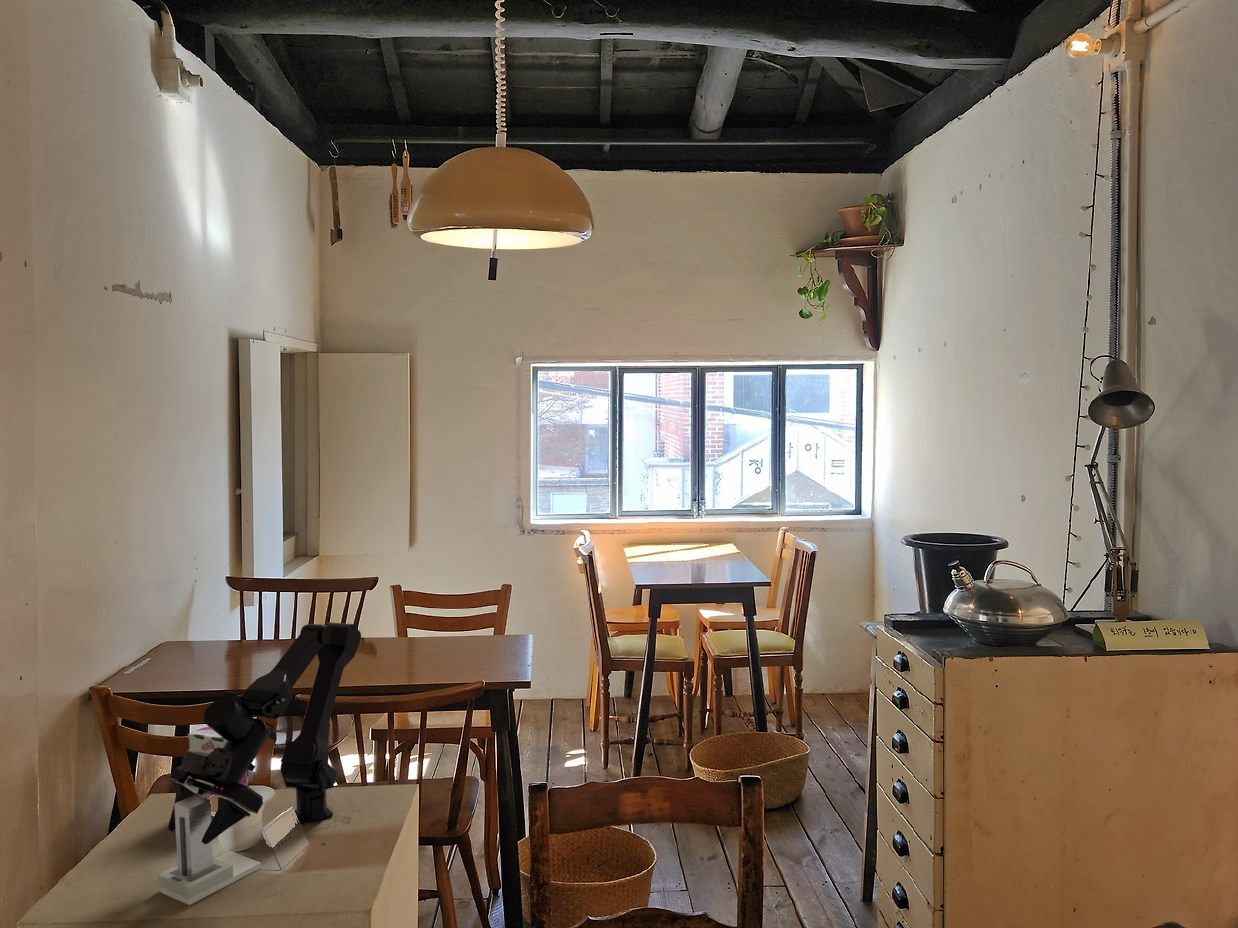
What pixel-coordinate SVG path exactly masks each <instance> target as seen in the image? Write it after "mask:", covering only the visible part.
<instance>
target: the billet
mask: <svg viewBox="0 0 1238 928" xmlns="http://www.w3.org/2000/svg"><path fill="white" fill-rule="evenodd" d="M174 803H175V802H174ZM174 803H173V806H174V805H175V825H176V829H175V842H176V843H175V844H176V861H177V862H176V863H177V864H176V866H177V867H178V877H179V878H181V879H183V880H186V881H188V882H193V881H195V880H197V879H199V878H201V877H203V876H205V875H207V874H209V873H211V872H213V871H214V870H213V858H214V854H213V851H214V850H213V840H212V841H211V842H209V843H208V844H204V843H202V842H201V841H202V838H203V836H204V834H205V832H206V830H207V828H208V827H209V825H210V823H211V821H212V816H211V804H210V800H209V799H206V798H203V797H200V796H198V795H195V796H192V797H190V798H187V799H185V800H182V801H180V802H177V803H175V804H174Z"/></svg>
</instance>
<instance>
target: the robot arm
mask: <svg viewBox="0 0 1238 928" xmlns="http://www.w3.org/2000/svg"><path fill="white" fill-rule="evenodd" d="M361 633H362V632H361V631H360V630H359V628H358V626H357V625H356V624H354V623H342V622H329V621H328V622H325V623H324V624H319V623H307V624H305V625H303V626H302V627H301V630H300V633H299V635H298V636H297V638H296V639H295V640H294V641H293V643H292V644H291V645H290V647H289V648H288V649H287V650H286V652H285V653H284V654H283V656H282V657H281V658H280V660H279V661H278V662H277V664H276V665H275V666H274V667H273V668H272V669H271V671H269V672H268V673H266V674H264V675H261V676H260V677H257V678H256V679H255V680H254V681H252V683H251V684H250V685H248V687H247V688H246V689H245V690H244V692H242V694H240V695H239V694H237V692H235V691H225V692H224V693H223V696H222V697H220V698H217V699H215V700H213V702H212V703H210V704H209V706H207V708H206V709H205V710H204V713H203V721H204V723H205V725H206V727H210V728H211V729H212V730H214V731H215V732H216V733H217V734H219V735H220V736H221V737H222V738H223V739H225V740H227V742H226V744H225V745H224V747H223V748H220V747H217V748H215V749H214V751H212V752H211V753H210V754H208V753H202V752H194V751H189V750H186V751H185V754H184V756H183V760H182V763H181V765H179V766H177V767H175V768H174V769H173V771H172V772H171V774H170V776H169V779H170V780H172V781H171V786H173V788H174V793H175V799H174V803H173V807H172V811H171V814H170V817H169V818H170V819H169V820H168V821H169V822H168V825H167V831H170V832H174V831H176V825H175V805H174V804H175V803H177V802H180V801H182V800H185V799H187V798H190V797H192V796H195V795H197V794H199V795H203V794H205V793H206V792H207V791H208V792H211V793H214V794H217V795H220V796H223V797H226V798H228V799H224V798H221V797H218V810H217V812H216V814H215V816H214V817H212V818H211V823H210V825H209V827H208V828H207V830H206V832H205V834H204V836H203V838H202V841H201V842H202V843H204V844H208V843H209V842H211V841H212V842H213V840H214V839H216V838H217V837H218V836H220V835H221V834H223V833H224V832H225V831H226V830H228V829H229V828H231V827H232V826H233V825H235V824H237V823H238V822H240V821H241V820H243V819H245V818H246V817H247V818H249V817H250V816H251V813H252V814H255V815H256V814H257V815H258V813H259V811H260V809H261V808H262V806H263V804H264V802H263V801H264V799H263V796H262V795H261V794H260V793H258V792H257V791H255V790H254V789H252V788H251V787H250V786H249V787H248V786H246V785H243V784H240V781H241V780H242V778H243V777H244V775H245V773H246V772H247V770H248V772H253V771H254V770H255V768H256V765H255V764H253V762H254V760H255V758H256V757H257V756H258V753H259V752H260V750H261V749H262V747H263V745H264V744H265V742H266V740H267V739H269V740H271V741H275V740H276V739H277V738H276V736H277V735H276V732H275V724H272V723H269V722H267V721H263V720H261V718H263V719H270V720H274V719H280V718H281V717H282V716H284V713H285V712H286V711H287V709H288V707H289V705H290V703H291V701H292V700H293V688H294V686H295V685H296V683H297V682H298V680H299V679H300V678H301V676H302V675H303V673H305V671H306V669H307V668H308V667H309V666H310V664H311V662H313V660H314V659H315V657H316V656H317V659H318V662H319V663H318V667H317V671H316V674H315V677H314V682H313V686H312V689H311V692H310V696H309V700H308V703H307V707H306V710H305V714H304V718H303V721H302V725H301V729H300V732H299V735H298V736H297V737H296V738H294V740H288V741H287V743H286V744H285V747H284V753H283V756H282V758H281V760H280V763H281V764H280V772H281V773H280V774H281V776H282V779H283V782H284V785H285V787H286V788H292V789H293V788H294V789H295V799H296V809H294V810H295V813H296V815H297V818H298V820H299V822H300V823H299V822H298V823H299V825H307V824H308V823H313V822H316V821H320V820H324V819H328V818H330V817H333V816H334V812H333V811H332V810H331V809H329V807H327V806H328V805H327V790H330V789H333V788H334V785H335V784H336V782H337V775H338V771H336V769H335V768H334V767H332V765H330V763H329V758H330V751H329V748H328V745H327V742H326V737H327V734H328V733H327V732H328V728H329V724H330V721H331V717H332V714H333V709H334V706H335V702H336V698H337V694H338V691H339V687H340V683H341V678H342V675H343V672H344V670H345V669H344V668H345V667H346V666H347V665H348V664H349V663H350V662H351V661H352V660H353V659H354V658H355V656H356V654H357V650H358V648H359V645H360V643H361V641H362V634H361ZM212 787H213V788H212ZM221 788H223V790H220V789H221ZM199 795H198V796H199Z"/></svg>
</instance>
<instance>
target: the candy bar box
mask: <svg viewBox="0 0 1238 928" xmlns="http://www.w3.org/2000/svg"><path fill="white" fill-rule="evenodd" d="M187 739H188V751H194V752H202V753H208V754H210V753H211V752H212V751H214V749H215V748H217V747H220V748H223V747H224V745H225V744H226V742H227V740H225V739H223V738H222V737H221V736H220V735H219V734H217V733H216V732H215V731H214V730H212V729H211V728H210V727H209V726H205V727H201V728H200V729H197V730H195V731H192V732H190V733H188V734H187ZM249 783H250V779H249V771H248V770H247V772H246V773H245V775H244V777H243V778H242V780H241V781H240V784H243V785H246V786H248V787H249V788H250V784H249ZM212 788H213V787H212ZM220 790H223V788H221V789H220ZM197 795H199V794H197ZM212 795H217V794H214V793H211V792H208V791H207V792H206V793H205V794H203V795H199V796H200V797H203V798H206V799H208V798H209V797H210V796H212Z"/></svg>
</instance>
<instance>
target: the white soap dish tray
mask: <svg viewBox="0 0 1238 928" xmlns="http://www.w3.org/2000/svg"><path fill="white" fill-rule="evenodd" d="M261 868H262V865H261V862H260V861H258V860H254V859H252V858H249V857H246V856H243V855H241V854H239V853H237V852H233V851H230V850H229V851H228V852H225V853H223V854H222V855H221V854H220V855H219V856H217V857H213V870H214V871H213V872H211V873H209V874H207V875H205V876H203V877H201V878H199V879H197V880H195V881H193V882H188V881H186V880H183V879H181V878H179V877H178V867H177V865H176V866H173V867H170V868H169V869H167V870H165V871H162V872H160V873H158V874H157V883H158V887H157V888H158V892H159V893H160V892H161V894H164V895H165V896H168V897H170V898H171V899H173V900H174V899H175V900H176V901H179V902H181V903H184V904H186V905H188V906H191V905H193V904H194V903H197V902H199V901H200V900H202V899H204V898H206V897H208V896H210V895H211V894H215V892H217V891H220V890H222V889H223V888H225V887H228V886H229V885H231V884H233V883H235V882H236V881H238V880H240V879H242V878H245V877H247V876H249V875H250V874H252V873H254V872H256V871H258V870H261Z"/></svg>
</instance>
